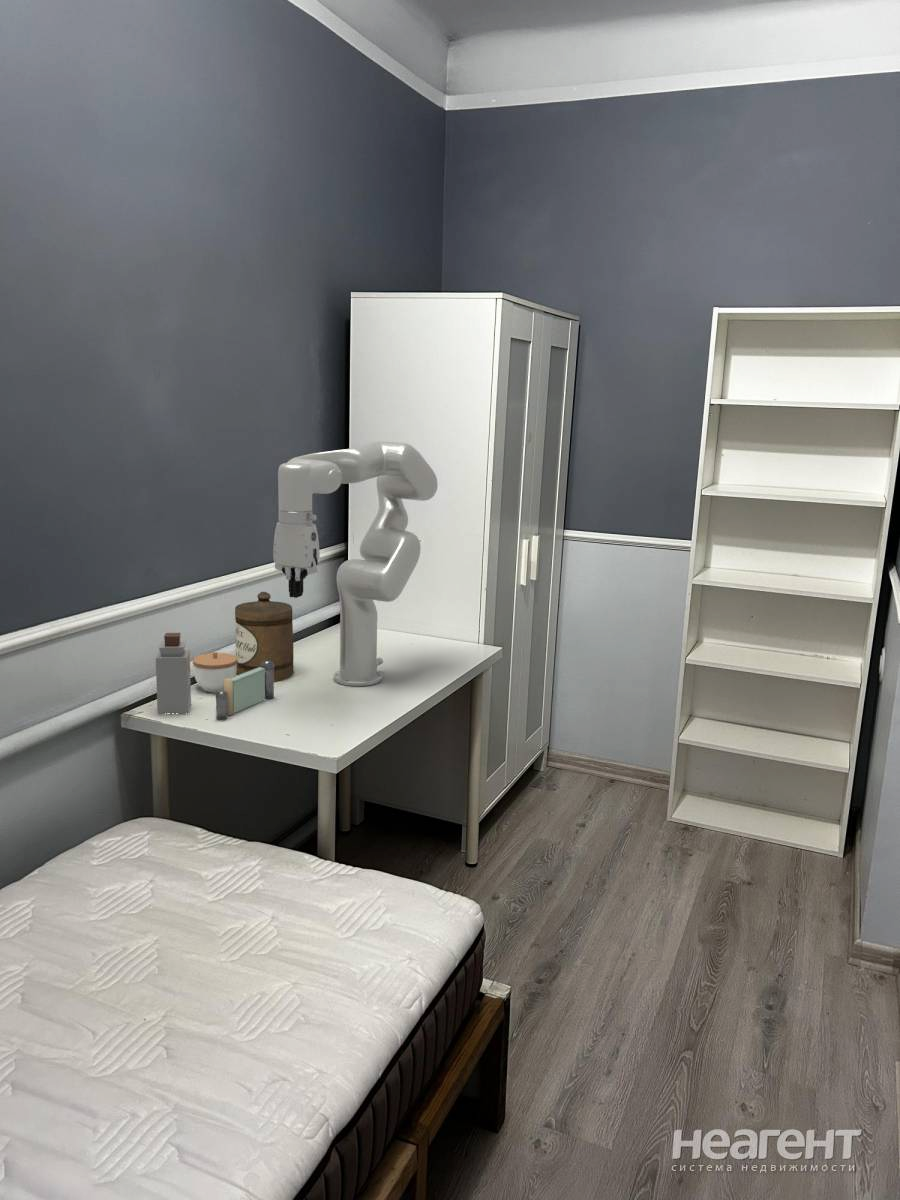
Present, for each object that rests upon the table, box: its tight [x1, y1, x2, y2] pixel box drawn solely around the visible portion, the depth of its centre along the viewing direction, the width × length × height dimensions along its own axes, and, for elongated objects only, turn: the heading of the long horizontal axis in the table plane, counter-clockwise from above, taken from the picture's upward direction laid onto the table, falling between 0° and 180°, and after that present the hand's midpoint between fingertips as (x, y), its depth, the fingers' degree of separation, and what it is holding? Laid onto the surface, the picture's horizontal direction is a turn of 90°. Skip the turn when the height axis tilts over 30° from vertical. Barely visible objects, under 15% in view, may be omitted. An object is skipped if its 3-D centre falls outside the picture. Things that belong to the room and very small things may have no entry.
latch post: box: [215, 691, 228, 721], centre depth 213 cm, size 7×4×7 cm, turn 154°
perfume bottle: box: [155, 632, 192, 715], centre depth 215 cm, size 7×7×18 cm
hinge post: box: [261, 660, 275, 701], centre depth 226 cm, size 3×3×10 cm
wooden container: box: [234, 591, 295, 682], centre depth 243 cm, size 15×15×22 cm
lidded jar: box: [192, 651, 237, 693], centre depth 232 cm, size 11×11×9 cm
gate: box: [223, 667, 266, 716], centre depth 219 cm, size 14×2×8 cm, turn 153°
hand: (296, 596), depth 217 cm, fingers closed
